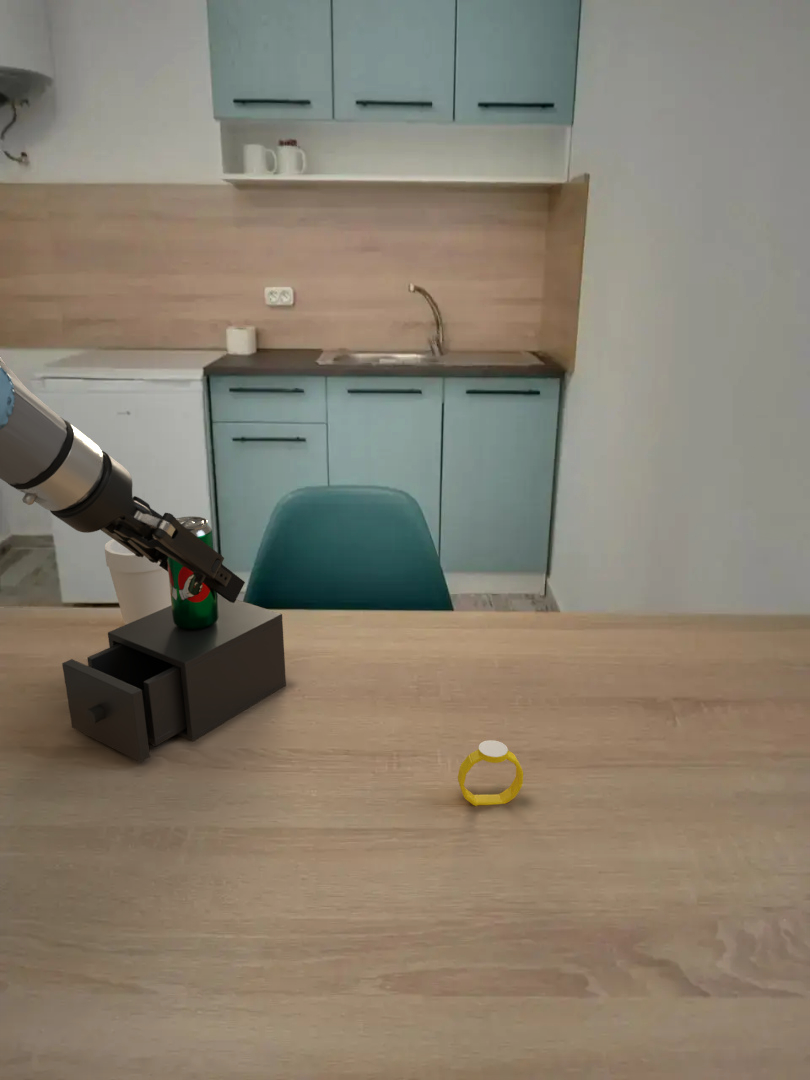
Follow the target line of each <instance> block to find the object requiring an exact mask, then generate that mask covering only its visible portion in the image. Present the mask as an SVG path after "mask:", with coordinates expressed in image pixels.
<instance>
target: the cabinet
mask: <svg viewBox="0 0 810 1080" xmlns="http://www.w3.org/2000/svg"><path fill="white" fill-rule="evenodd" d="M217 596H218V608H219V618H218V620H217V621H216V622H215V624H214V625H212V626H211V627H209V628H206V629H202V630H196V631H189V630H183V629H181V628H179V627H178V626H177V625H176V624H174V622H173V615H172V605H171V606H169V607H166V608H164V609H162V610H159V611H157V612H155V613H152V614H150V615H148V616H145V617H143V618H140V619H138V620H136V621H133V622H131V623H129V624H126V625H125V624H124V625H122V626H120V627H117V628H115V629H113V630H110V631H107V638H108V648H110V647H112V646H114V645H116V644H119V643H120V644H123V645H125V646H128V647H130V648H133V649H135V650H138V651H140V652H143V653H145V654H148V655H150V656H153V657H155V658H158V659H160V660H163V661H165V662H168V663H170V664H173V665H175V666H177V667H180V668H181V677H182V686H183V696H184V706H185V716H186V725H187V728H186V729H184V730H183V731H181V732H179V733H177V734H176V735H177V736H178V737H181V738H183V739H185V740H187V741H189V742H192V743H193V742H196V741H197V740H199V739H200V738H202V737H203V736H205V735H207V734H208V733H210V732H212V731H214V730H216V729H217V728H218V727H220V726H222V725H224V724H226V723H227V722H228V721H230V720H232V719H234V718H235V717H237V716H238V715H241V714H242V713H243V712H245V711H247V710H248V709H250V708H252V707H253V706H255V705H256V704H258V703H260V702H261V701H263V700H265V699H266V698H268V697H270V696H271V695H273V694H275V693H276V692H278V691H280V690H281V689H283V688H285V687H286V686H287V679H286V678H287V676H286V660H285V659H286V657H285V643H284V642H285V641H284V626H283V625H284V624H283V613H280V612H277V611H274V610H271V609H267V608H265V607H261V606H258V605H255V604H253V603H248V602H246V601H242V600H239V599H236V601H235V603H232V602H229V601H228V600H226V599H225V598H224V597H222V596H221V595H219V594H218V593H217Z"/></svg>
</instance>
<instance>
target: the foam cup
mask: <svg viewBox="0 0 810 1080" xmlns="http://www.w3.org/2000/svg"><path fill="white" fill-rule="evenodd" d="M104 554H105V562H106V567H108V569H109V572H110V573H109V574H110V577H111V580H112V582H113V583H112V584H113V587H114V591H115V595H116V599H117V600H118V606H119V609H120V613H121V616H122V620H123V623H124V625H126V624H129V623H131V622H133V621H136V620H138V619H140V618H143V617H145V616H148V615H150V614H152V613H155V612H157V611H159V610H162V609H164V608H166V607H169V606H171V595H170V585H169V575H168V572H167V571H166V570H165V569H163V568H162V567H160V566H159V565H160V563H161V562H159V561H158V563H152V562H150V561H149V560H148V558H146V557H145V556H143V558H142V557H137V556H136V555H135V554H134V553H133V552H131V551H130V550H128V549H127V548H126V547H124V546H123V545H121V544H120V543H118V542H117V541H116V540H114V539H113V538H111V539H110V540H108V541H107V542H106V543H104Z"/></svg>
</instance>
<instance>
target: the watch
mask: <svg viewBox="0 0 810 1080" xmlns="http://www.w3.org/2000/svg"><path fill="white" fill-rule="evenodd" d="M506 760H507V761H509V762H511V763H512V764H514V766H515V777H514V779H513V781H512V782H511V783H510V786H509V787H508V788H506V789H505V790H504V791H503V790H502V792H500V793H498V794H473V793H472V792H471V791H470V790H468V789H467V788H466V787H465V782H466V777H467V774H468V773H469V772H470V770H471V769H472V768H473V766H474V765H476V764H478V763H479V762H482V761H484V762H487V763H491V764H499V763H502V762H505V761H506ZM458 768H459V769H458V773H457V781H458V784H459V788H460V790H461V794H462V795H463V798H464V799H465V800H466V801H467V802H469V803H470V804H471V805H472V806H475V807H478V806H494V805H495V806H496V805H505V804H507V803H509V802H511V801H512V800H514V799H515V798H516V797H517V796H518V794H519V792H520V790H521V789H522V787H523V784H524V771H523V768H522V766H521V763H520V762H519V760H518V758H517V757H516V755H515V754H514V753H513V752H512V751H510V750H509V748H508V747H507V745H506V744H505V743H503V742H502V741H498V740H495V739H494V740H491V739H489V740H484V741H482V742H480V743H479V745H478V747H477V749H476V750H474V751H472V752H470V753H469V754H468V755H467V756H466V757H465V759H463V761H462V762H461V764H460V766H459V767H458Z"/></svg>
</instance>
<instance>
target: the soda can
mask: <svg viewBox="0 0 810 1080" xmlns="http://www.w3.org/2000/svg"><path fill="white" fill-rule="evenodd" d="M175 518H176V517H175ZM176 519H177V520H178V521H179V522H180V523H181V525H183V526H184V527H185V528H186V529H188V530H189V531H190V532H192V533H193V534H194V535H195V536H197V537H198V538H199V539H201V540H202V541H203V542H204V543H206V544H207V545H208V546H210V547H211V548H212V549H213V550H215V549H214V547H215V546H214V535H213V529H212V527H211V526H210V524H209V521H208V519H207V518H205V517H201V516H181V517H177V518H176ZM167 565H168V575H169V585H170V595H171V605H172V615H173V622H174V624H176V625H177V626H178V627H179V628H181V629H183V630H189V631H196V630H202V629H206V628H209V627H211V626H212V625H214V624H215V622H216V621H217V620H218V618H219V608H218V596H217V592H215V591H214V590H213V589H211V588H210V587H208V586H207V585H206V584H204V583H202V584H199V583H197V582H195V581H194V580H195V578H196V577H195V575H196V574H195V573H194V572H192V571H191V570H189V569H187V568H186V567H184V566H183V565H181V564H180V563H178V562H176V561H175V560H173V559H172V558H170V557H168V556H167Z"/></svg>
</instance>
